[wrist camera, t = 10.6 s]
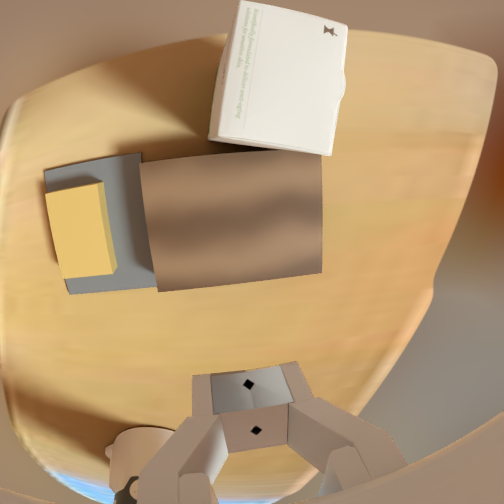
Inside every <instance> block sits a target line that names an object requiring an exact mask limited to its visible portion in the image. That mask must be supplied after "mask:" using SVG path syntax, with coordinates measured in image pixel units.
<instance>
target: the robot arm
mask: <svg viewBox="0 0 504 504" xmlns="http://www.w3.org/2000/svg"><path fill="white" fill-rule="evenodd" d="M284 444H288V446H289V447H290V448H292V449H293V450H294V451H295V452H297V453H298V454H299V455H300V456H301V457H303V458H304V459H305V460H307V461H308V462H309V463H310V464H312V465H313V466H314V467H316V468H317V469H318V470H319V471H321V472H322V473H323V474H324V478H323V482H322V485H321V489H320V492H319V497H317V498H313V499H308V500H304V501H300V502H296V503H291V504H504V411H503V412H501V413H500V414H499V415H497V416H495V417H494V418H492V419H491V420H490V421H488V422H486V423H485V424H483V425H482V426H480V427H479V428H477V429H476V430H474V431H472V432H471V433H469V434H467V435H466V436H464V437H462V438H461V439H459V440H457V441H455V442H454V443H452V444H450V445H449V446H447V447H445V448H443V449H441V450H439V451H437V452H435V453H433V454H431V455H429V456H427V457H425V458H423V459H421V460H419V461H417V462H414V463H413V464H410V465H408V464H407V463H406V461H405V459H404V458H403V456H402V455H401V453H400V451H399V450H398V448H397V446H396V445H395V443H394V442H393V440H392V438H391V437H390V435H389V434H388V432H387V431H385V430H383V429H380V428H378V427H376V426H374V425H372V424H370V423H368V422H366V421H364V420H362V419H360V418H358V417H356V416H354V415H352V414H350V413H348V412H346V411H345V410H343V409H341V408H339V407H337V406H335V405H333V404H331V403H329V402H328V401H326V400H324V399H322V398H320V397H318V398H314V396H313V394H312V392H311V389H310V387H309V385H308V383H307V381H306V379H305V377H304V374H303V372H302V370H301V368H300V366H299V364H298V362H296V361H294V362H289V363H284V364H279V365H275V366H269V367H263V368H256V369H250V370H242V371H233V372H223V373H212V374H211V375H210V374H203V375H193V377H192V417H187V418H186V419H185V420H184V421H183V423H182V424H181V425H180V426H179V427H178V428H177V430H176V431H175V432H174V431H171V430H167V429H162V428H154V427H138V428H132V429H128V430H126V431H124V432H122V433H120V434H119V435H118V436H117V437H116V439H115V442H114V443H113V444H112V445H109V446H108V447H106V448H105V455H106V456H107V457H108V458H109V459H110V471H109V487H110V489H112V491H113V492H114V493H115V498H114V502H113V504H219V503H218V500H217V498H216V495H215V493H214V490H213V488H212V484H213V482H214V480H215V479H216V477H217V475H218V473H219V471H220V470H221V468H222V466H223V464H224V462H225V460H226V459H227V457H228V453H234V452H240V451H247V450H252V449H258V448H266V447H272V446H279V445H284ZM0 504H58V503H53V502H49V501H45V500H41V499H38V498H34V497H30V496H27V495H24V494H20V493H17V492H14V491H11V490H8V489H5V488H2V487H0Z"/></svg>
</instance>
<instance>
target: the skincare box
mask: <svg viewBox="0 0 504 504" xmlns="http://www.w3.org/2000/svg"><path fill="white" fill-rule="evenodd" d="M347 30H348V27H347V26H346V25H345V24H342V23H339V22H336V21H332V20H329V19H325V18H322V17H318V16H315V15H311V14H307V13H303V12H299V11H295V10H290V9H285V8H281V7H276V6H271V5H266V4H261V3H255V2H249V1H243V0H240V1H239V4H238V7H237V11H236V14H235V17H234V19H233V22H232V25H231V28H230V31H229V34H228V37H227V40H226V43H225V47H224V50H223V53H222V56H221V59H220V62H219V65H218V70H217V76H216V82H215V88H214V94H213V101H212V108H211V115H210V123H209V131H208V140H210V141H218V142H225V143H232V144H239V145H247V146H256V147H264V148H273V149H282V150H291V151H299V152H306V153H313V154H319V155H325V156H331V154H332V146H333V141H334V135H335V129H336V123H337V117H338V111H339V105H340V100H341V98H342V96H343V94H344V92H345V85H346V81H345V76H344V72H343V71H344V63H345V54H346V43H347Z"/></svg>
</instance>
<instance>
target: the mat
mask: <svg viewBox="0 0 504 504" xmlns="http://www.w3.org/2000/svg"><path fill="white" fill-rule="evenodd" d="M139 163H142V156H141V152H140V153H134V154H127V155H121V156H115V157H110V158H104V159H99V160H94V161H89V162H84V163H79V164H74V165H70V166H65V167H61V168H56V169H52V170H48V171H44V174H45V182H46V189H47V193H49V192H52V191H56V190H61V189H66V188H71V187H77V186H82V185H87V184H93V183H99V182H103V183H104V191H105V198H106V205H107V212H108V218H109V224H110V230H111V236H112V241H113V247H114V252H115V257H116V262H117V268H116V270H115V271H114V273H113V274H107V275H98V276H88V277H78V278H68V279H65V280H66V284H67V287H68V291H69V294H70V295H71V294H83V293H94V292H106V291H117V290H127V289H138V288H148V287H157V283H156V278H155V273H154V267H153V261H152V256H151V250H150V244H149V237H148V231H147V224H146V217H145V210H144V202H143V194H142V186H141V177H140V168H139Z"/></svg>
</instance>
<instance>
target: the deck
mask: <svg viewBox="0 0 504 504" xmlns="http://www.w3.org/2000/svg"><path fill="white" fill-rule="evenodd" d="M139 168H140V177H141V186H142V194H143V202H144V210H145V217H146V224H147V231H148V237H149V244H150V250H151V256H152V261H153V267H154V273H155V278H156V283H157V288H158V292H165V291H175V290H185V289H194V288H203V287H212V286H221V285H230V284H238V283H247V282H255V281H263V280H271V279H279V278H287V277H294V276H302V275H309V274H317V273H322V164H321V155H319V154H313V153H306V152H299V151H291V150H260V151H244V152H230V153H218V154H207V155H197V156H188V157H179V158H171V159H163V160H155V161H148V162H143V163H139Z"/></svg>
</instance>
